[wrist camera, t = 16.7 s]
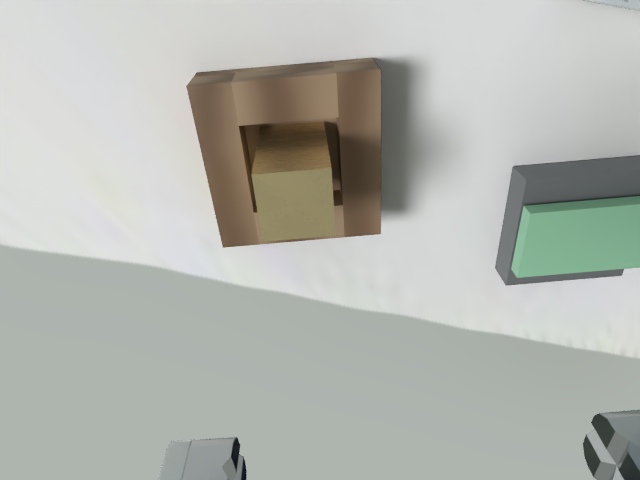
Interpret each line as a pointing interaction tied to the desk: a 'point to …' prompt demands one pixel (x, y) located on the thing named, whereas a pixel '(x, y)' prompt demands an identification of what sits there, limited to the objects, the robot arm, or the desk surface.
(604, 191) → the block
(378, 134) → the brown square frame
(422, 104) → the desk surface
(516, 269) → the button
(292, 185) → the block
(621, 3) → the light bulb box
